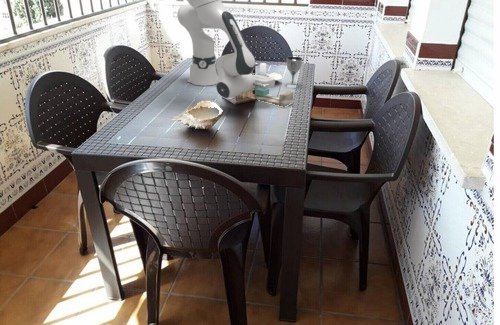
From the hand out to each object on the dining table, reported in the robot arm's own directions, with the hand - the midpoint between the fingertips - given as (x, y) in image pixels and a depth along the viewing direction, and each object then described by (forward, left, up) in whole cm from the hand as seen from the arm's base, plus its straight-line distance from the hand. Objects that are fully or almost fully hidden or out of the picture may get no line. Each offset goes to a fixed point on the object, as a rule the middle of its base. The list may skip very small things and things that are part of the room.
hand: (263, 76), depth 191 cm
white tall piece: (+1, -1, -8) cm, 9 cm away
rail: (+4, +3, -11) cm, 12 cm away
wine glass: (-21, +16, -11) cm, 29 cm away
